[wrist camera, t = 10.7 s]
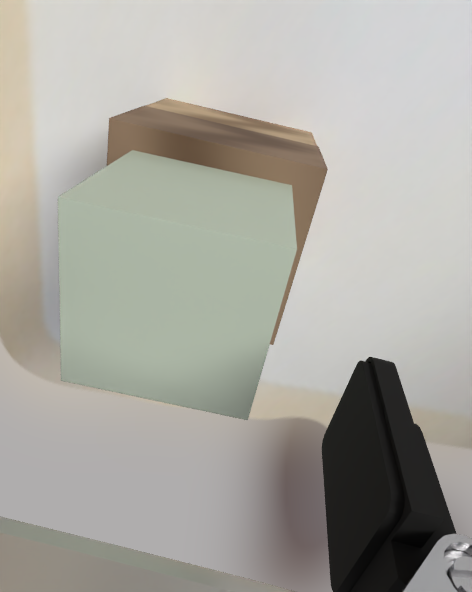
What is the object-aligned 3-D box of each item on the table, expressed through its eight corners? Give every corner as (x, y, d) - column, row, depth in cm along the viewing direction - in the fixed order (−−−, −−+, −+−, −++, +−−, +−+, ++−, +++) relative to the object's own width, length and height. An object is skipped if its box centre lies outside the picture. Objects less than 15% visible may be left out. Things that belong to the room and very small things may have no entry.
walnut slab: (318, 146, 19) (327, 169, 15) (274, 296, 23) (273, 345, 19) (144, 105, 19) (109, 118, 15) (130, 263, 23) (99, 305, 19)
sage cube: (291, 185, 16) (296, 249, 11) (257, 318, 19) (247, 420, 14) (132, 150, 16) (57, 197, 10) (122, 290, 19) (60, 380, 13)
